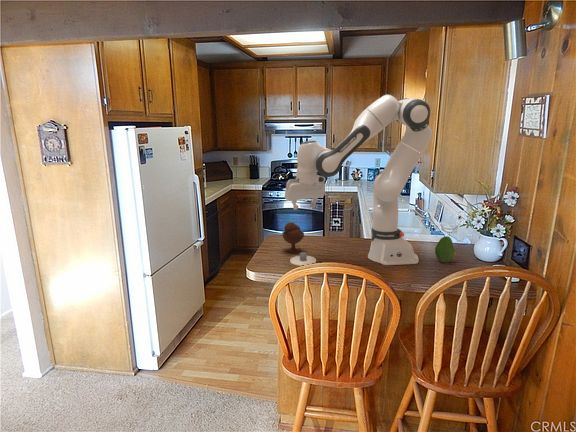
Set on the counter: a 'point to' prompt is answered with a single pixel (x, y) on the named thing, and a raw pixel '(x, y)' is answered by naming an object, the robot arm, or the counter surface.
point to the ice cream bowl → (292, 235)
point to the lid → (302, 259)
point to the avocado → (444, 249)
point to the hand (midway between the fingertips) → (304, 208)
